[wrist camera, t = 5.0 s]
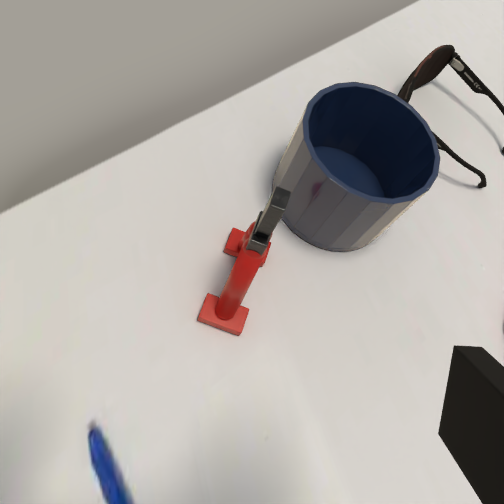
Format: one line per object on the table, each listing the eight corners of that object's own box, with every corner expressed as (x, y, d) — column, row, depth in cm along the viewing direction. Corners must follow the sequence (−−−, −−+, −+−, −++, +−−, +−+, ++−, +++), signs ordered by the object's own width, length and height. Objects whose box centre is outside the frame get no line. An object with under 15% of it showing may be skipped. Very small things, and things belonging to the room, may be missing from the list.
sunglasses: (417, 66, 46) (453, 28, 41) (501, 148, 46) (546, 120, 41) (365, 119, 41) (399, 83, 36) (459, 211, 41) (504, 186, 37)
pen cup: (257, 223, 34) (286, 166, 27) (290, 130, 39) (322, 62, 32) (375, 270, 35) (431, 225, 28) (394, 173, 39) (446, 115, 33)
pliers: (196, 320, 30) (227, 249, 20) (231, 231, 33) (272, 132, 23) (239, 336, 30) (290, 274, 20) (268, 246, 33) (326, 154, 23)
